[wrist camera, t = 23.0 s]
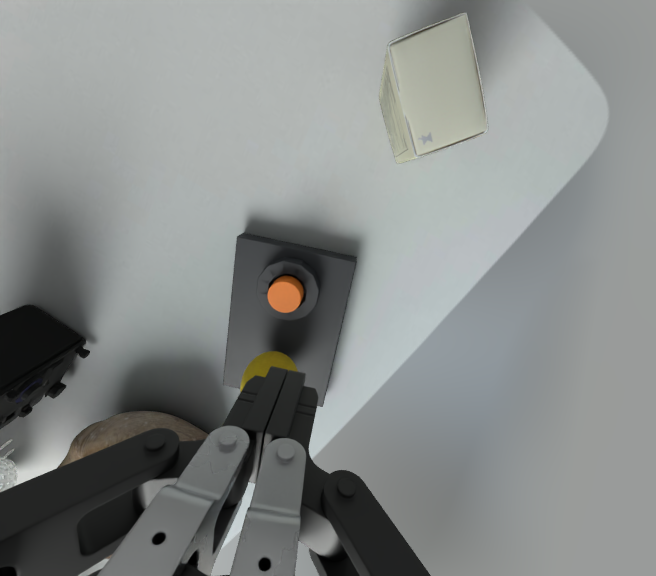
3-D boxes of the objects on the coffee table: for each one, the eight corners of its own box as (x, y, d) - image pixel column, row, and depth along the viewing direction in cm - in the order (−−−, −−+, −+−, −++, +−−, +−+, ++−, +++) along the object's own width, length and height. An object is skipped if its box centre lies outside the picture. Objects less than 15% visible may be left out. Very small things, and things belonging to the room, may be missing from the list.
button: (306, 279, 32) (303, 285, 31) (301, 308, 33) (297, 316, 32) (274, 272, 32) (269, 277, 31) (269, 302, 33) (265, 309, 32)
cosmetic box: (443, 148, 30) (493, 138, 19) (395, 165, 31) (415, 165, 19) (426, 70, 28) (470, 5, 17) (376, 90, 29) (385, 41, 17)
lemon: (313, 357, 37) (301, 407, 29) (285, 389, 38) (267, 443, 31) (273, 328, 36) (249, 371, 28) (245, 362, 38) (217, 410, 30)
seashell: (10, 473, 38) (17, 607, 28) (122, 360, 41) (162, 446, 32) (127, 485, 50) (160, 583, 40) (207, 397, 53) (255, 468, 43)
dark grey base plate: (356, 256, 34) (356, 266, 31) (324, 396, 41) (321, 417, 37) (243, 232, 34) (230, 239, 31) (228, 375, 41) (217, 393, 38)
